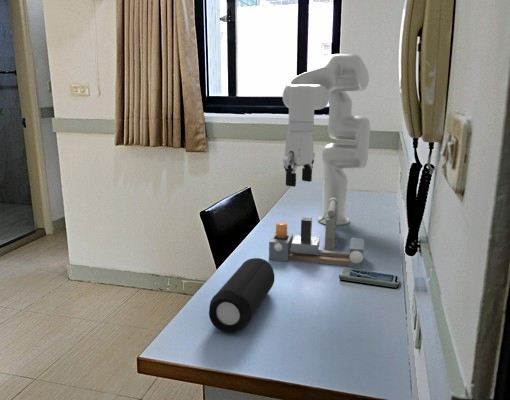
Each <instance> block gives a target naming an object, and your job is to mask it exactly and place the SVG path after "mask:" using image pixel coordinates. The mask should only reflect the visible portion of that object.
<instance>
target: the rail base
mask: <svg viewBox="0 0 510 400" xmlns="http://www.w3.org/2000/svg"><path fill="white" fill-rule="evenodd" d="M349 255H350V251H341V250H340V251H338V250H334V251H330V250H324V249H320V248H319V249H318V252H317V254H307V253H295V252H291V248H290V253H289V255H288V261H293V262H305V263H313V264H325V265H326V264H327V265H337V266H348V267H349Z"/></svg>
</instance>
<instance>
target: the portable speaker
mask: <svg viewBox="0 0 510 400" xmlns="http://www.w3.org/2000/svg"><path fill="white" fill-rule="evenodd" d="M274 283H275V272H274V268H273V266H272V265H271V264H270V262H268V261H267V260H266V259H264V258H259V257H254V258H250V259H249V258H248V259H247V260H246V261H244V262H242V264H241V265H240V267H239V268H238V269H237V270H236V271H235V272H234V273H233V274H232V275H231V276H230V277H229V279H228V280H227V281H226V282H225V283H224V285H223V286H222V287H221V288H219V290H218V291H217V293H216V294H214V295H213V297H212V299H211V300H210V303H209V309H208V316H209V319H210V322H211V323H212V325H213V326H214V327H215V328H216V329H217V330H218V331H221V332H223V333H227V334H231V333H232V334H233V333H236V332H238V331H241V330H243V329H245V327H247V326H248V325H249V323H250V321H251V320H252V318H254V315H255V314H256V312H257V311H258V309H259V308H260V306H261V305H262V304H263V302H264V300H265V299H266V297H267V295H268V294H269V292H270V290H271V289H272V288H273V286H274Z"/></svg>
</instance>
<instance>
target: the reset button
mask: <svg viewBox="0 0 510 400" xmlns="http://www.w3.org/2000/svg"><path fill="white" fill-rule="evenodd" d="M275 232H276V237H278V238H285V237H287V233H288V224H287V223H286V222H277V223H275Z"/></svg>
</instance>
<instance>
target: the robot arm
mask: <svg viewBox="0 0 510 400" xmlns="http://www.w3.org/2000/svg"><path fill="white" fill-rule="evenodd" d="M369 75H370V74H369V71H368V68H367V66H366V64H365V62H364V60H363V59H362V57H361V56H360V55H358V54H355V53H334V54H329V55H325V57H323V59H322V60H321V61H320V62H319V64H318V65H317V66H316V67H315V68H314V69H312V70H311V69H310V70H309V71H307V72H306V71H305V72H303V73H301V74H299V75H296V76H294V77H293V78H292V79H290V80H289V82H288V83H287V84H286V86H285V87H284V90H283V92H282V102H283V104H284V106H285V107H286V108H288V129H287V131H288V132H287V134H286V139H285V140H286V141H285V146H284V147H285V148H284V149H285V150H284V158H283V159H282V161H283V168H284V170H285V171H284V172H285V186H286V187H293V188H294V187H297V173H296V171H297V169H298V167H301V166H303V167H302V168H301V171H302V172H301V181H302V182H309V183H310V182H312V180H313V179H312V176H313V169H314V166H313V165H314V163H315V157H316V153H315V152H314V134H313V133H314V125H315V124H314V123H315V110H318V111H319V110H322V109H325V108H326V107H327V105H329V112H328V124H327V133H328V137H329V138H331V139H333V140H337V141H351V142H352V141H353V142H355V144H354V143H352V144H351V143H339V142H333V143H328V144H326V145H325V146H324V147H323V149H322V152H321V157H322V158H321V160H322V165H323V180H322V181H323V184H322V203H321V204H322V205H321V206H322V207H321V212H322V213H321V215H319V216H318V217H317V221H318V222H319V221H320V220H321V218H322V217H323V216H324V214H325V213H326V212H327V211H328V206H329V200H330V198H333V197H334V198H336V199H337V205H336V206H337V217H336V226H345V225H348V224H350V218H349V217H348V216H347V202H348V201H347V200H348V197H347V196H348V185H349V183H348V181H349V179H348V176H347V174H346V172H345V171H344V169H348V170H363V169H365V168H366V166H367V164H368V161H369V160H368V158H369V149H370V135H371V124H370V120H369V119H368V117H366V116H364V115H353V113H352V112H353V111H352V110H353V101H352V98H351V97H350V96H349V94H348V92H362V91H365V90H366V89H367V87H369V82H370V76H369ZM327 213H328V212H327ZM338 216H339V217H338ZM325 217H327V214H326V215H325V216H324V218H325ZM319 223H320V224H323V225H326V219H324V220H322V221H321V222H319Z"/></svg>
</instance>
